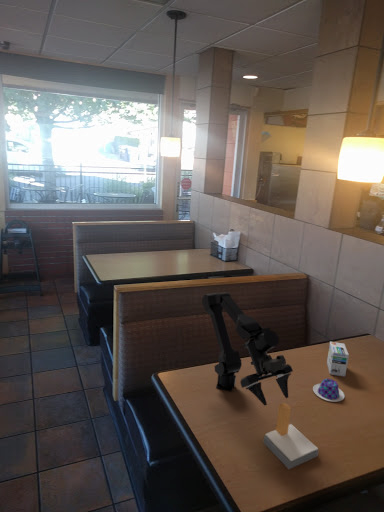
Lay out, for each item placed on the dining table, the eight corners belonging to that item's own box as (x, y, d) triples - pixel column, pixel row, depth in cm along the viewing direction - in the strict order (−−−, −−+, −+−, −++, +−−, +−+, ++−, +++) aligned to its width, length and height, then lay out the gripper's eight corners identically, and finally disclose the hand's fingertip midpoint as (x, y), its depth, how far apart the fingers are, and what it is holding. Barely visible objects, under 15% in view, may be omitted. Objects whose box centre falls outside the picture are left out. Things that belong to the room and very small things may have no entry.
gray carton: (263, 442, 124) (264, 436, 123) (291, 431, 130) (291, 425, 129) (288, 469, 114) (289, 462, 113) (317, 456, 120) (318, 449, 119)
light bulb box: (345, 377, 164) (349, 354, 161) (329, 374, 165) (333, 352, 163) (341, 364, 174) (345, 343, 171) (326, 362, 176) (329, 341, 173)
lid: (265, 435, 124) (268, 408, 121) (290, 425, 129) (294, 399, 126) (291, 461, 114) (295, 433, 111) (317, 449, 119) (322, 422, 116)
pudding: (306, 391, 153) (308, 379, 152) (323, 381, 161) (325, 370, 159) (333, 407, 144) (335, 395, 143) (350, 396, 152) (352, 384, 150)
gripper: (248, 354, 122) (267, 404, 115) (292, 343, 130) (312, 388, 124) (232, 364, 130) (249, 410, 124) (274, 353, 139) (292, 396, 133)
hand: (276, 401), depth 126 cm, fingers open, 9 cm apart
